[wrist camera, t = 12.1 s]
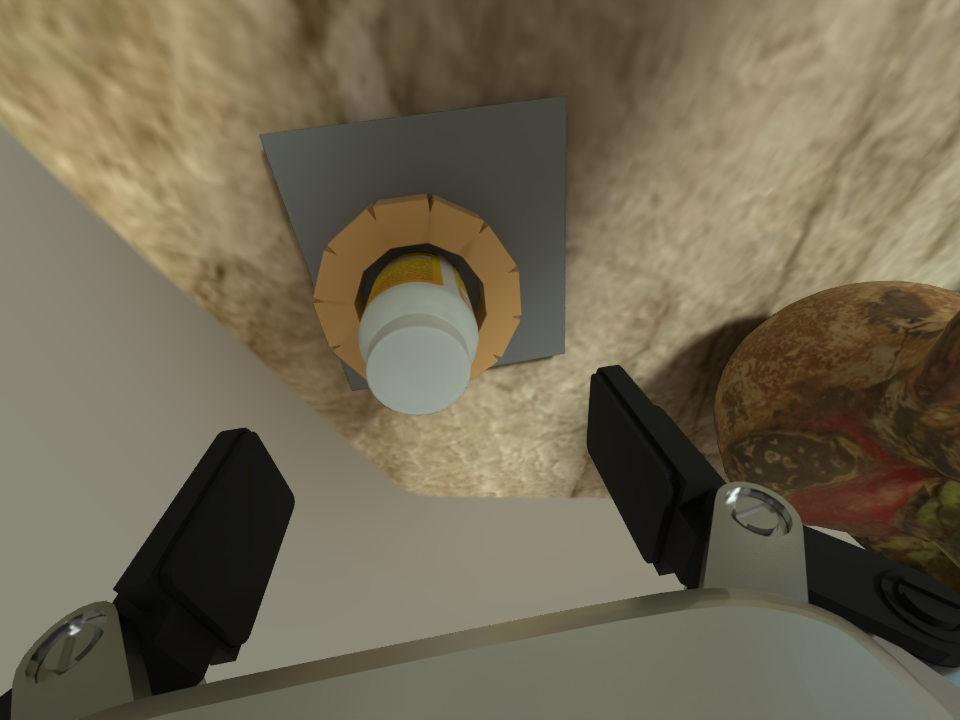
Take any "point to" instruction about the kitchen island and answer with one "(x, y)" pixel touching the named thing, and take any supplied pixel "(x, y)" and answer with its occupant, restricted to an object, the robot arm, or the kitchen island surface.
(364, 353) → the supplement bottle
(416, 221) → the collar
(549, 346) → the plate
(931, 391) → the ceramic vessel
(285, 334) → the kitchen island surface
